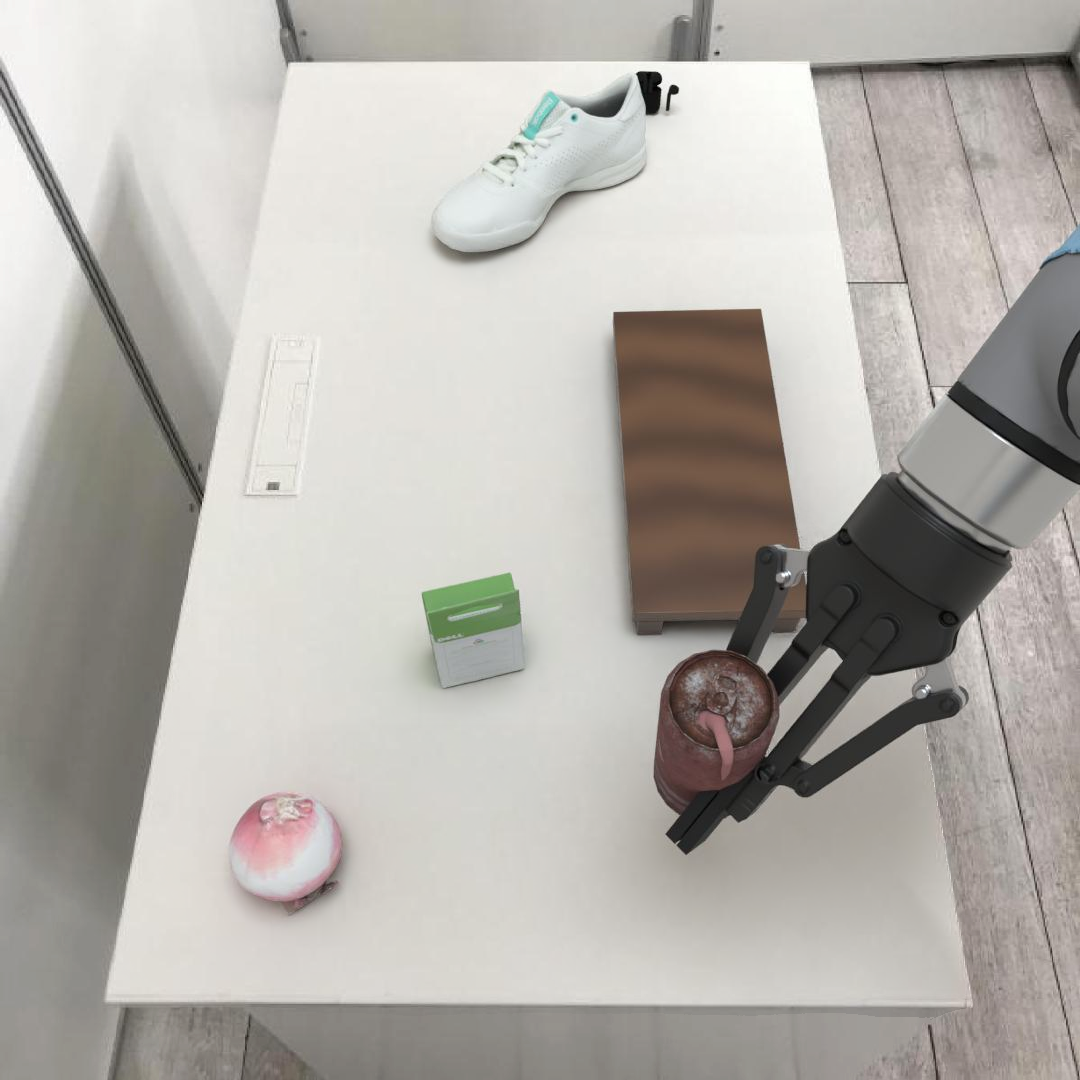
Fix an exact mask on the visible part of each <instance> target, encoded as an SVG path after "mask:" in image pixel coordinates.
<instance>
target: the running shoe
mask: <svg viewBox="0 0 1080 1080" xmlns="http://www.w3.org/2000/svg"><path fill="white" fill-rule="evenodd" d="M646 114H647V113H646V108H645V102H644V99H643V97H642V94H641V89H640V85H639V81H638V77H637V75H636V73H635V72H628V73H625V74H623V75H621V76H619V77H618V78H617V79H615V80H613V81H612V82H611V83H609V84H608V85H607V86H606V87H605V88H602V89H601V90H599V91H597V92H595V93H591V94H588V95H583V96H573V95H569V94H564V93H558V92H554V91H553V90H551V89H549V90H548V89H546V90H545V92H544V93H542V95H541V97H539V100H538V101H537V103H536V104H535V106H534V107H533V109H532V110H531V112H530V113H529V114H527V116H526V117H525V118H524V121H523V124H520V125H519V132H518V134H516V135H515V136H514V137H512V139H510V143H509V145H508V146H507V147H505V148H503V149H501V150H499V151H498V152H497V154H496V156H495V157H494V158H493V159H492V160H489V161H488V160H487V161H484V162H483V163H482V164H481V165H480V167H479V168H478V169H476V171H474V172H473V173H471V174H470V175H469V176H468V177H466V178H465V179H463V180H462V181H461V182H459V183H458V184H457V185H455V187H453V188H452V189H451V190H450V191H448V192H447V194H446V195H444V197H442V198H441V200H439V202H438V203H437V204H436V205H435V207H434V208H433V210H432V212H431V222H430V227H431V230H432V232H433V234H434V235H435V237H436V238H437V239H438V240H439V241H440V242H441V243H443V244H444V245H445V246H447V247H448V248H450V249H452V250H457V251H459V252H463V253H480V252H481V253H484V252H485V253H486V252H491V251H496V250H500V249H505V248H507V247H510V246H514V245H516V244H520V243H521V242H523V241H525V240H527V239H529V238H530V237H532V236H533V235H534V233H536V232H537V231H538V230H539V228H540V227H541V226H542V224H543V223H544V221H545V219H546V217H547V216H548V214H549V212H550V210H551V208H552V206H553V205H554V204H555V202H556V201H557V200H558V199H559V198H560V197H561V196H563V195H565V194H566V193H569V192H583V191H594V190H600V189H605V188H611V187H614V186H616V185H619V184H622V183H623V182H625V181H628V180H630V179H632V178H633V177H635V176H636V175H638V173H640V172H641V171H642V170H643V168H644V167H645V165H646V162H647V138H646V131H647V117H646Z"/></svg>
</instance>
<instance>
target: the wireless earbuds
mask: <svg viewBox="0 0 1080 1080" xmlns="http://www.w3.org/2000/svg"><path fill="white" fill-rule="evenodd" d="M635 74H636V75H637V77H638V81H639V85H640V89H641V94H642V97H643V99H644V102H645V108H646V114H656V113H658V112H659V110H660V108H661V100H662V91H663V90H662V88H661V87H660V86H659V85H661V84H662V83H663V75H662V74H661V73H660V72H659V71H656V70H653V71H648V70H639V71H637V72H635ZM679 93H680V87H679V86H678V85H676V84H671V85H670V86H669V88H668V91H667V94H666V102H665V112H670V110H671V109H670V108H671V99H672V96H675V95H678V94H679Z"/></svg>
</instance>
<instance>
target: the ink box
mask: <svg viewBox="0 0 1080 1080" xmlns="http://www.w3.org/2000/svg"><path fill="white" fill-rule="evenodd" d="M421 599H422V605H423V609H424V614H425V619H426V624H427V630H428V635H429V638H430V643H431V648H432V652H433V658H434V661H435V666H436V669H437V675H438V679H439V683H440V685H441V688H442V689H446V688H451V687H456V686H459V685H463V684H467V683H472V682H476V681H480V680H484V679H489V678H492V677H497V676H500V675H504V674H509V673H513V672H516V671H517V672H518V671H522V670H524V669H525V668H526V666H525V653H524V639H523V638H524V637H523V624H522V607H521V598H520V589H519V588H517V589H516V588H515V584H514V580H513V576H512V573H511V572H510V571H508V572H506V573H505V572H504V573H500V574H495V575H491V576H488V577H483V578H478V579H474V580H470V581H466V582H460V583H456V584H452V585H447V586H446V585H445V586H441V587H437V588H433V589H428V590H424V591H423V590H422V592H421Z"/></svg>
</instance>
